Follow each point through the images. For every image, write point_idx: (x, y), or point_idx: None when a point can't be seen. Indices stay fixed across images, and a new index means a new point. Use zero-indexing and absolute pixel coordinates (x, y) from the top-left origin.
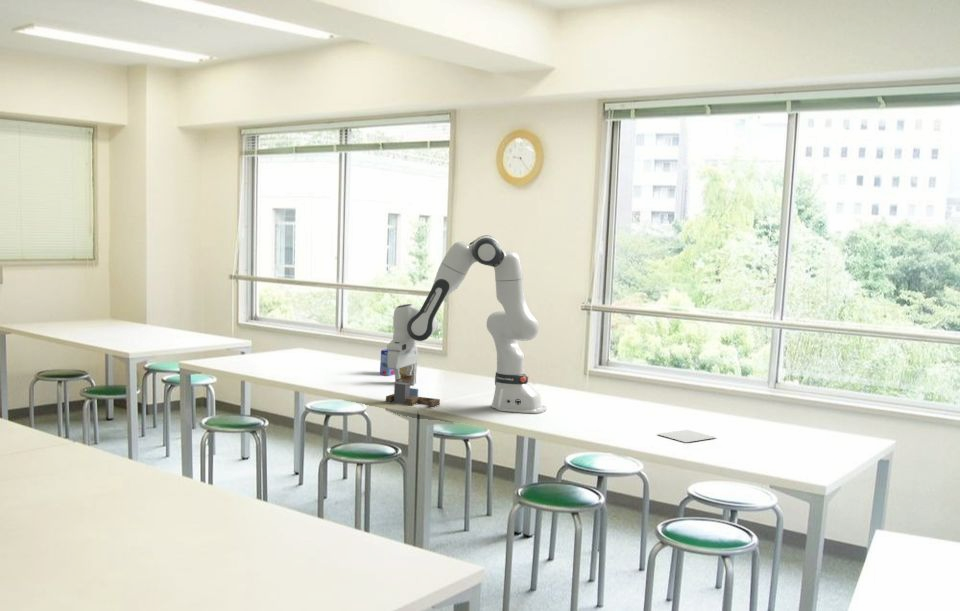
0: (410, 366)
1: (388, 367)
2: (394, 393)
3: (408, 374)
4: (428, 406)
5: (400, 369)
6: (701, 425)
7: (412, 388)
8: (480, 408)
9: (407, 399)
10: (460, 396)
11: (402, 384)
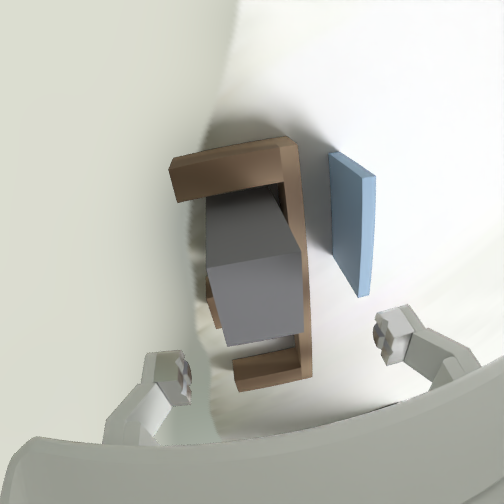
0: (432, 389)
1: (21, 447)
2: (206, 224)
3: (379, 335)
4: (233, 365)
5: None
6: None
7: (365, 264)
8: (332, 418)
9: (209, 304)
10: (481, 295)
11: (222, 328)
